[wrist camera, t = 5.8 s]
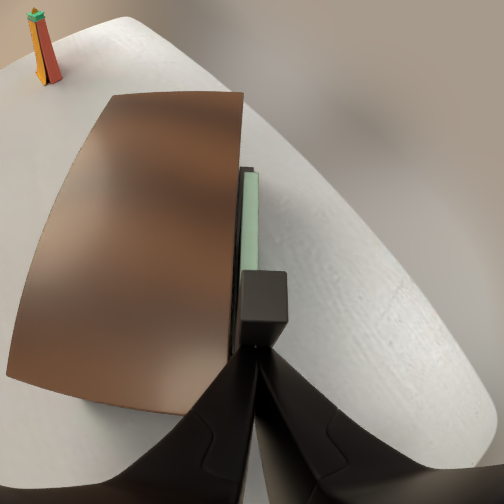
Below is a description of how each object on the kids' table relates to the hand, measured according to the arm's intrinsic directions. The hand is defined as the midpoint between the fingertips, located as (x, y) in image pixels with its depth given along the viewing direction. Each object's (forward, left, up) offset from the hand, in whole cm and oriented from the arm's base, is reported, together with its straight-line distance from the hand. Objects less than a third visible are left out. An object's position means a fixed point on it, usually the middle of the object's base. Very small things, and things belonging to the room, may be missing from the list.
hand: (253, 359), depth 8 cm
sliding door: (+2, +5, -10) cm, 12 cm away
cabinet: (-2, +10, -11) cm, 15 cm away
